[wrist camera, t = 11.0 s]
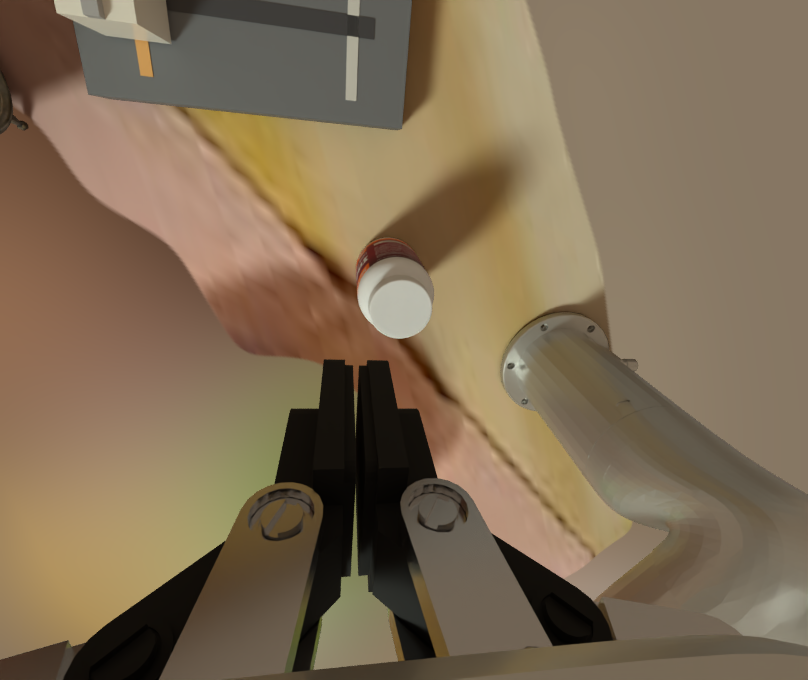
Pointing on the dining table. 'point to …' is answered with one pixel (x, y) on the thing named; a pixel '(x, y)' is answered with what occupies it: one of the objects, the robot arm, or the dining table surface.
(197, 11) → the fader console
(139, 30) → the fader knob
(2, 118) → the alarm clock
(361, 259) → the pill bottle
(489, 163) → the dining table surface
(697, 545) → the robot arm
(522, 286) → the dining table surface
